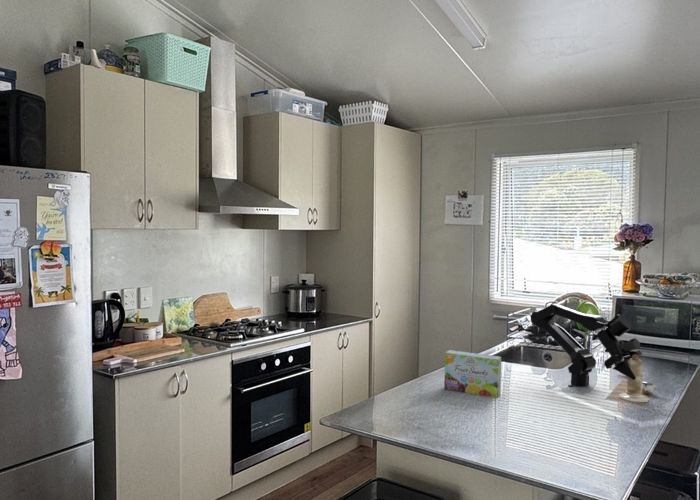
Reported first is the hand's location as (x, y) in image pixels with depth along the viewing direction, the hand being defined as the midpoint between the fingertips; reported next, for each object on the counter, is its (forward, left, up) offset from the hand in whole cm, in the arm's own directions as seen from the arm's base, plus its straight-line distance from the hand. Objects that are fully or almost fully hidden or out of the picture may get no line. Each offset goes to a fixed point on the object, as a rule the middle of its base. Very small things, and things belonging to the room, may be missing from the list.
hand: (638, 378), depth 216 cm
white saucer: (0, +1, -8) cm, 8 cm away
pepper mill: (0, +1, -6) cm, 7 cm away
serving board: (+6, +8, -9) cm, 14 cm away
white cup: (+26, +29, -9) cm, 40 cm away
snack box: (-52, +32, -9) cm, 61 cm away
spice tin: (+11, +5, -8) cm, 14 cm away
